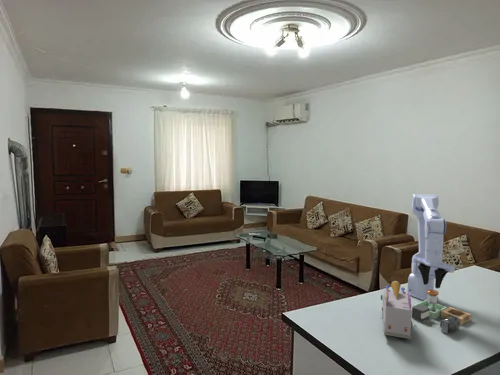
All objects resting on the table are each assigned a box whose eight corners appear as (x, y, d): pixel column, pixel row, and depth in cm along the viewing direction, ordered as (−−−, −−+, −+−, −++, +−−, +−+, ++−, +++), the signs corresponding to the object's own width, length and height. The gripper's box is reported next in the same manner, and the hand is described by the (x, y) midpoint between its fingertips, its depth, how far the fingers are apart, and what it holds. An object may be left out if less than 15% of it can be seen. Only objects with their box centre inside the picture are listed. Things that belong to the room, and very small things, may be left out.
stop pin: (423, 310, 129) (424, 290, 128) (429, 307, 131) (430, 288, 130) (433, 314, 125) (434, 294, 125) (439, 311, 127) (440, 292, 127)
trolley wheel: (438, 330, 115) (438, 319, 114) (448, 324, 119) (449, 313, 118) (450, 335, 111) (451, 324, 111) (461, 329, 115) (461, 318, 115)
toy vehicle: (406, 317, 124) (408, 277, 122) (413, 345, 105) (415, 299, 104) (379, 313, 127) (381, 274, 125) (381, 340, 108) (383, 294, 107)
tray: (413, 310, 129) (413, 305, 129) (426, 305, 134) (426, 299, 134) (434, 319, 123) (434, 313, 123) (447, 312, 128) (447, 307, 128)
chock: (411, 317, 124) (412, 307, 124) (418, 314, 126) (419, 304, 126) (422, 322, 121) (422, 311, 120) (429, 318, 123) (429, 308, 123)
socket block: (440, 317, 124) (441, 311, 124) (450, 312, 128) (450, 306, 128) (461, 325, 118) (461, 319, 118) (470, 319, 122) (471, 314, 122)
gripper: (409, 247, 130) (407, 281, 131) (448, 256, 118) (446, 294, 119) (419, 245, 134) (417, 278, 135) (458, 253, 122) (456, 290, 123)
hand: (431, 285), depth 127 cm, fingers open, 4 cm apart
